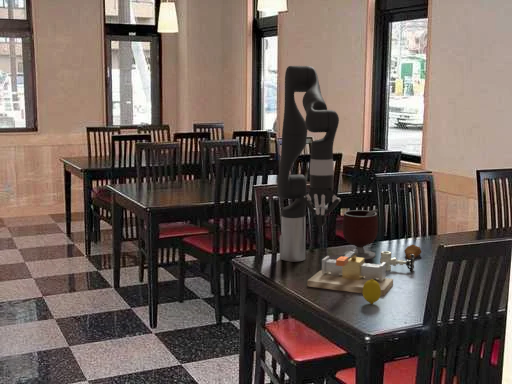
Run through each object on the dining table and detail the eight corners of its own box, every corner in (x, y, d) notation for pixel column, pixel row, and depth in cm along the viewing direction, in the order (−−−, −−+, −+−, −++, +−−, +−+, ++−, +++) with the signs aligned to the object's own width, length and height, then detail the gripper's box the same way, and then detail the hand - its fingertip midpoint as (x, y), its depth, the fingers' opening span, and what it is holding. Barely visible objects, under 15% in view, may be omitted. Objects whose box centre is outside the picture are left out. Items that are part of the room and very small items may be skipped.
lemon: (360, 301, 197) (360, 276, 195) (377, 300, 197) (378, 276, 196) (364, 307, 191) (365, 282, 190) (382, 306, 192) (383, 281, 190)
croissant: (418, 261, 241) (419, 249, 240) (400, 260, 243) (401, 247, 243) (424, 253, 253) (424, 241, 252) (407, 251, 256) (407, 239, 255)
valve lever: (351, 252, 216) (351, 247, 215) (358, 253, 215) (358, 248, 214) (335, 265, 201) (336, 260, 200) (343, 266, 200) (343, 260, 199)
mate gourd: (334, 255, 251) (335, 205, 248) (357, 249, 260) (358, 201, 257) (365, 262, 240) (366, 211, 236) (387, 256, 248) (389, 206, 245)
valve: (378, 271, 228) (412, 274, 224) (378, 254, 227) (412, 256, 223) (381, 266, 234) (414, 269, 230) (381, 249, 233) (414, 252, 229)
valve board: (307, 286, 212) (307, 280, 212) (320, 275, 224) (320, 270, 223) (383, 296, 201) (383, 290, 201) (393, 284, 213) (393, 278, 213)
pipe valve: (321, 275, 217) (321, 253, 216) (327, 271, 222) (327, 249, 221) (381, 283, 208) (382, 259, 207) (385, 278, 214) (386, 255, 212)
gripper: (298, 173, 201) (298, 226, 203) (337, 175, 195) (337, 229, 198) (306, 170, 207) (306, 222, 210) (345, 172, 202) (344, 225, 205)
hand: (321, 225), depth 204 cm, fingers closed
